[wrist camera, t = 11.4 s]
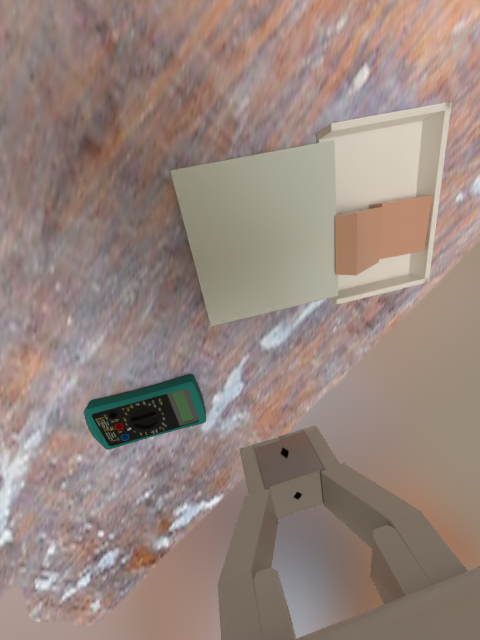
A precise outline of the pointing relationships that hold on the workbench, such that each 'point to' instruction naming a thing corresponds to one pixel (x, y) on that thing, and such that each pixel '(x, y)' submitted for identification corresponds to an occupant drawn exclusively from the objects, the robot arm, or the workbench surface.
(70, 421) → the workbench surface
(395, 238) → the tile
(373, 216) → the tile
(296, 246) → the board
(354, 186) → the tray
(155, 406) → the digital multimeter
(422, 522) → the robot arm
